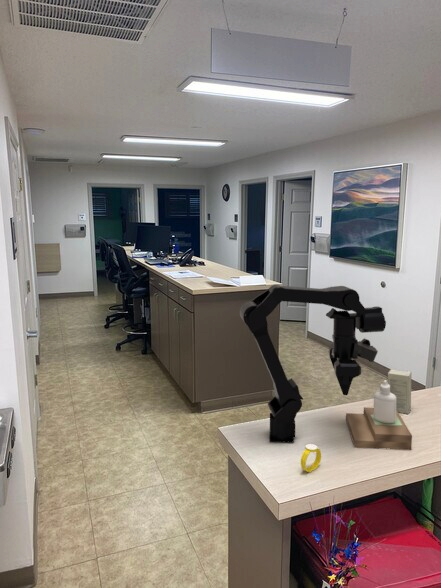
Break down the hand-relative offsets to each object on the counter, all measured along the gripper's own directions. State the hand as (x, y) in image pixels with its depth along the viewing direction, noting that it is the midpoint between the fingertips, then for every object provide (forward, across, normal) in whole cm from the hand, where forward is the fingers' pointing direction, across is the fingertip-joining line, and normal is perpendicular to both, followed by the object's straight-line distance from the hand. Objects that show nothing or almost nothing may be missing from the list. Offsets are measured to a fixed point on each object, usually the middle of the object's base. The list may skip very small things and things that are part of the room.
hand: (342, 388), depth 119 cm
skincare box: (+13, +16, -19) cm, 28 cm away
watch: (+13, -19, +10) cm, 25 cm away
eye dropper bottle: (+9, 0, -11) cm, 14 cm away
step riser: (+13, 0, -9) cm, 16 cm away
